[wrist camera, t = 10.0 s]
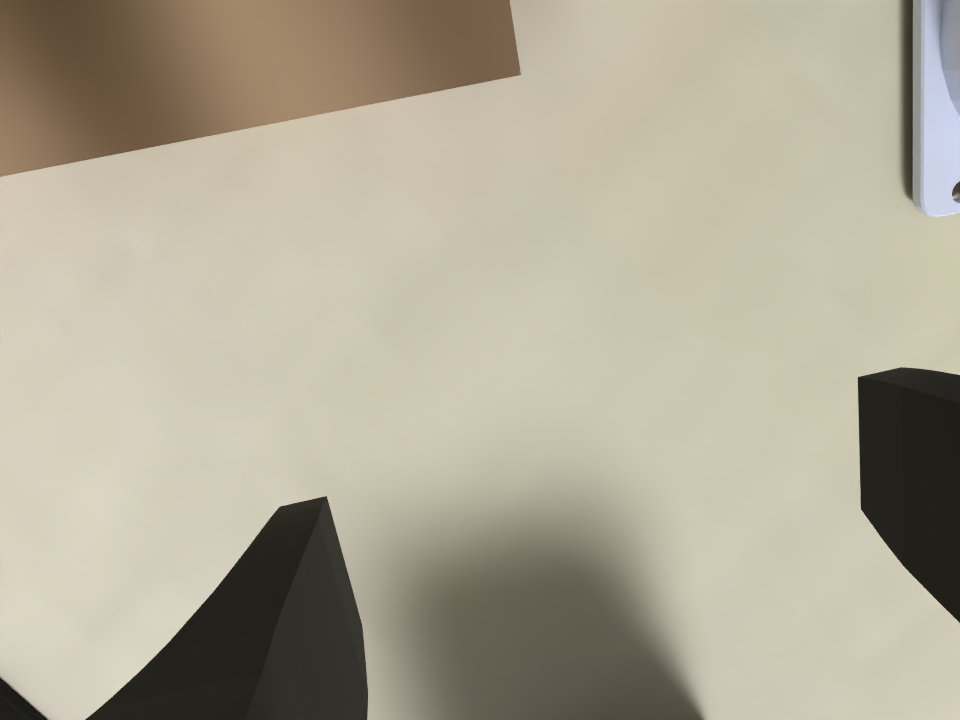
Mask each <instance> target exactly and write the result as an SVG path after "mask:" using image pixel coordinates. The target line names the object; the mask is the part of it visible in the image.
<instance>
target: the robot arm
mask: <svg viewBox="0 0 960 720" xmlns="http://www.w3.org/2000/svg"><path fill="white" fill-rule="evenodd" d="M958 182H960V0H913V202H914V206H915V207H916V209H917V210H918V211H919V212H921V213H923V214H925V215H928V216H932V217H942V216H947V215H952V214H956V213H960V194H959V196H958V197H957V198H955V199H953V197H952V191H953V188H954V186H955V185H956V184H957V183H958ZM858 402H859V445H860V487H861V510H862V511H863V512H864V514H865V515H866V517H867V518H868V519H869V521H870V522H871V524H872V525H873V526H874V528H875V529H876V531H877V532H878V533H879V535H880V536H881V538H882V539H883V540H884V542H885V543H886V544H887V546H888V547H889V548H890V549H891V551H892V552H893V553H894V554H895V556H896V557H897V558H898V560H899V561H900V562H901V563H902V565H903V566H904V567H905V568H906V569H907V570H908V571H909V572H910V573H911V574H912V575H913V576H914V577H915V578H916V579H917V580H918V581H919V582H920V583H921V584H922V585H923V587H924V588H925V589H926V590H927V591H928V592H929V593H930V594H931V595H932V596H933V597H934V598H935V599H936V600H937V601H938V602H939V603H940V604H941V605H942V606H943V607H944V608H945V609H946V610H947V611H948V612H949V613H950V614H951V615H952V616H953V617H954V618H956V619H957V620H958V621H959V622H960V375H956V374H950V373H944V372H939V371H932V370H925V369H916V368H897V369H892V370H888V371H883V372H879V373H874V374H870V375H865V376H861V377H858ZM367 710H368V687H367V674H366V662H365V651H364V640H363V629H362V623H361V620H360V616H359V612H358V609H357V605H356V601H355V598H354V594H353V590H352V587H351V583H350V580H349V576H348V572H347V569H346V565H345V561H344V558H343V554H342V550H341V547H340V543H339V540H338V536H337V532H336V529H335V525H334V521H333V518H332V514H331V510H330V507H329V503H328V499H327V496H326V497H321V498H317V499H312V500H308V501H303V502H299V503H294V504H290V505H285V506H281V507H279V508H278V510H277V511H276V512H275V513H274V514H273V516H272V517H271V518H270V519H269V521H268V522H267V523H266V525H265V526H264V527H263V529H262V530H261V531H260V533H259V534H258V535H257V537H256V538H255V539H254V541H253V542H252V543H251V545H250V546H249V547H248V549H247V550H246V551H245V553H244V554H243V555H242V556H241V558H240V559H239V560H238V561H237V563H236V564H235V565H234V567H233V568H232V569H231V570H230V572H229V573H228V574H227V575H226V577H225V578H224V579H223V581H222V582H221V583H220V584H219V586H218V587H217V588H216V589H215V591H214V592H213V593H212V594H211V595H210V596H209V598H208V599H207V600H206V601H205V602H204V603H203V604H202V605H201V607H200V608H199V609H198V610H197V611H196V612H195V613H194V615H193V616H192V617H191V618H190V619H189V620H188V621H187V622H186V624H185V625H184V626H183V627H182V628H181V629H180V630H179V631H178V633H177V634H176V635H175V636H174V637H173V638H172V639H171V641H170V642H169V643H168V644H167V645H166V646H165V647H164V648H163V649H162V650H161V651H160V652H159V653H158V654H157V655H156V656H155V657H154V658H153V659H152V660H151V661H150V662H149V663H148V664H147V665H146V666H145V667H144V668H143V669H142V670H141V671H140V672H139V673H138V674H137V675H136V676H134V677H133V678H132V679H131V680H130V681H129V682H128V683H127V684H126V685H125V686H124V687H123V688H121V689H120V690H119V691H118V692H117V693H116V694H115V695H114V696H113V697H112V698H111V699H109V700H108V701H107V702H106V703H105V704H104V705H103V706H101V707H100V708H99V709H98V710H97V711H96V712H94V713H93V714H92V715H91V716H89V717H88V718H87V719H86V720H367Z"/></svg>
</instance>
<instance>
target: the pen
mask: <svg viewBox="0 0 960 720" xmlns="http://www.w3.org/2000/svg"><path fill="white" fill-rule="evenodd" d="M0 720H46V719H45V718H44V717H43V716H42V715H41V714H40V713H38V712H37V711H36V710H35V709H34V708H33V707H32V706H30V705H29V704H28V703H27V702H26V701H25V700H24V699H23V698H21V697H20V696H19V695H18V694H17V693H16V692H15V691H13V690H12V689H11V688H10V687H9V686H8V685H7V684H6V683H4V682H3V681H2V680H1V679H0Z"/></svg>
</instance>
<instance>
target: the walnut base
mask: <svg viewBox="0 0 960 720" xmlns="http://www.w3.org/2000/svg"><path fill="white" fill-rule="evenodd" d="M518 75H521V73H520V66H519V60H518V53H517V47H516V40H515V34H514V27H513V21H512V14H511V8H510V1H509V0H0V177H1V176H6V175H11V174H16V173H22V172H27V171H32V170H37V169H42V168H47V167H52V166H57V165H62V164H68V163H73V162H78V161H83V160H88V159H93V158H98V157H103V156H108V155H114V154H119V153H124V152H129V151H134V150H139V149H144V148H149V147H155V146H160V145H165V144H170V143H175V142H180V141H185V140H190V139H195V138H201V137H206V136H211V135H216V134H221V133H226V132H231V131H236V130H241V129H247V128H252V127H257V126H262V125H267V124H272V123H277V122H282V121H288V120H293V119H298V118H303V117H308V116H313V115H318V114H323V113H328V112H334V111H339V110H344V109H349V108H354V107H359V106H364V105H369V104H374V103H380V102H385V101H390V100H395V99H400V98H405V97H410V96H415V95H420V94H426V93H431V92H436V91H441V90H446V89H451V88H456V87H461V86H467V85H472V84H477V83H482V82H487V81H492V80H497V79H502V78H507V77H513V76H518Z"/></svg>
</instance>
